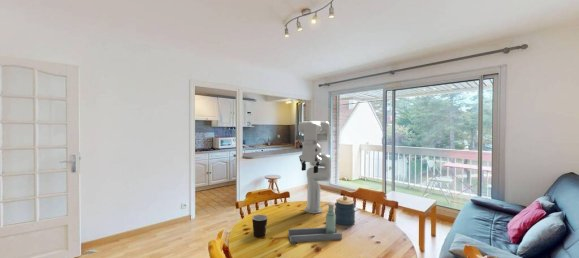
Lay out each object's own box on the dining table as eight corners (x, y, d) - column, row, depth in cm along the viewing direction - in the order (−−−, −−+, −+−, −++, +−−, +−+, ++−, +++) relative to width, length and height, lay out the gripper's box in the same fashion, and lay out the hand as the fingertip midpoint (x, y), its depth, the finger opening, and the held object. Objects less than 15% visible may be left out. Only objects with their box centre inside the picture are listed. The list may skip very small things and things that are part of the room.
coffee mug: (260, 240, 128) (261, 221, 128) (248, 236, 132) (248, 218, 132) (273, 232, 138) (273, 215, 138) (261, 228, 142) (262, 212, 142)
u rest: (288, 236, 133) (288, 229, 133) (335, 233, 138) (336, 226, 138) (291, 244, 124) (291, 236, 124) (341, 240, 129) (341, 233, 129)
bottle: (324, 233, 135) (325, 202, 134) (333, 233, 136) (333, 202, 135) (327, 238, 130) (328, 205, 129) (336, 237, 130) (337, 205, 130)
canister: (359, 224, 151) (360, 197, 151) (344, 229, 144) (344, 200, 144) (344, 217, 162) (345, 192, 162) (330, 221, 155) (330, 194, 155)
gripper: (325, 143, 137) (324, 173, 137) (304, 141, 150) (303, 168, 150) (317, 144, 132) (316, 174, 132) (295, 142, 145) (294, 170, 145)
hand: (309, 171), depth 141 cm, fingers open, 9 cm apart
